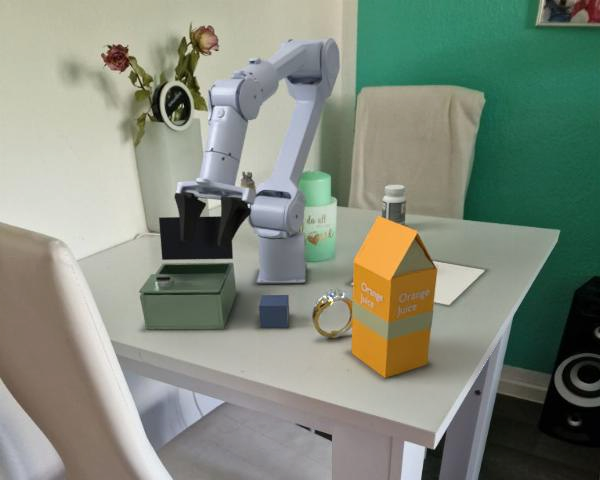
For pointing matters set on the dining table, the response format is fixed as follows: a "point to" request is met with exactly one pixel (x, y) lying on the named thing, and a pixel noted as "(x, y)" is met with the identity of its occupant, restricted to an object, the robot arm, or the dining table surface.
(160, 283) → the white disc with bar
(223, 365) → the dining table surface
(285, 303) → the navy cube
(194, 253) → the lid
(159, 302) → the washer
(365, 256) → the orange juice
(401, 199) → the pill bottle
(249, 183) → the brown furry upright figure
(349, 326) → the gold ring
